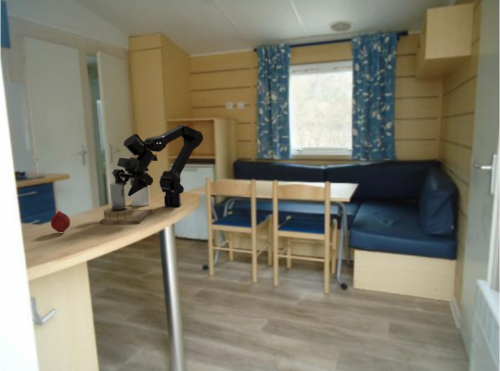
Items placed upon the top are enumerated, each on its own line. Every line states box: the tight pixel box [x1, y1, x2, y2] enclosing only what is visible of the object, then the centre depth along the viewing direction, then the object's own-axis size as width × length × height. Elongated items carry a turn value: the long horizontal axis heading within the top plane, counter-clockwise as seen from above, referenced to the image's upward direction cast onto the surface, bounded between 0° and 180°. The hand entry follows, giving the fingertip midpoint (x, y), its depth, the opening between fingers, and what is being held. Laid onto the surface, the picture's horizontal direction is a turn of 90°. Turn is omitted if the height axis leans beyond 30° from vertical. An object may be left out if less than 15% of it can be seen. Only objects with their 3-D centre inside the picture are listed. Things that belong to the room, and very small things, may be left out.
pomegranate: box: [50, 209, 71, 233], centre depth 121 cm, size 6×6×8 cm
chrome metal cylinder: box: [109, 182, 127, 212], centre depth 136 cm, size 5×5×13 cm
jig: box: [99, 206, 153, 225], centre depth 140 cm, size 15×18×4 cm
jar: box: [129, 179, 151, 207], centre depth 164 cm, size 9×8×12 cm
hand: (121, 194), depth 137 cm, fingers open, 9 cm apart
